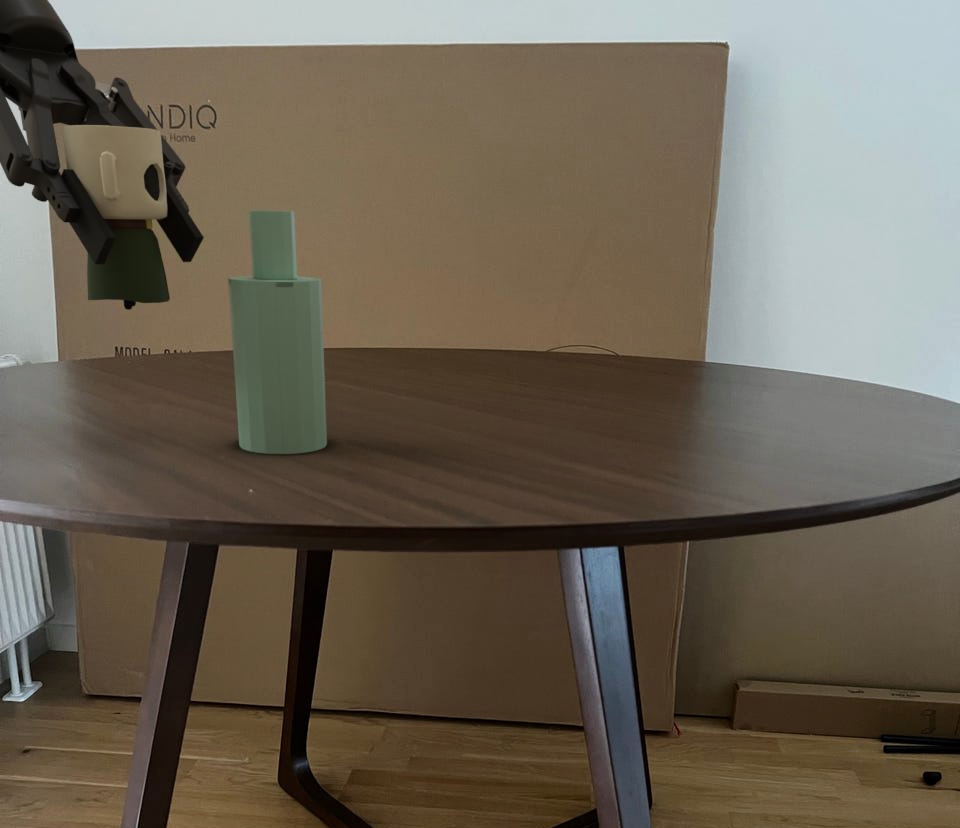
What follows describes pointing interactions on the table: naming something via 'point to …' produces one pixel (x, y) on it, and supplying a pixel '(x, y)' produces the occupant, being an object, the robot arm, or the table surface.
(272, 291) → the bottle
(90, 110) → the robot arm
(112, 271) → the character mug
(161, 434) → the table surface
